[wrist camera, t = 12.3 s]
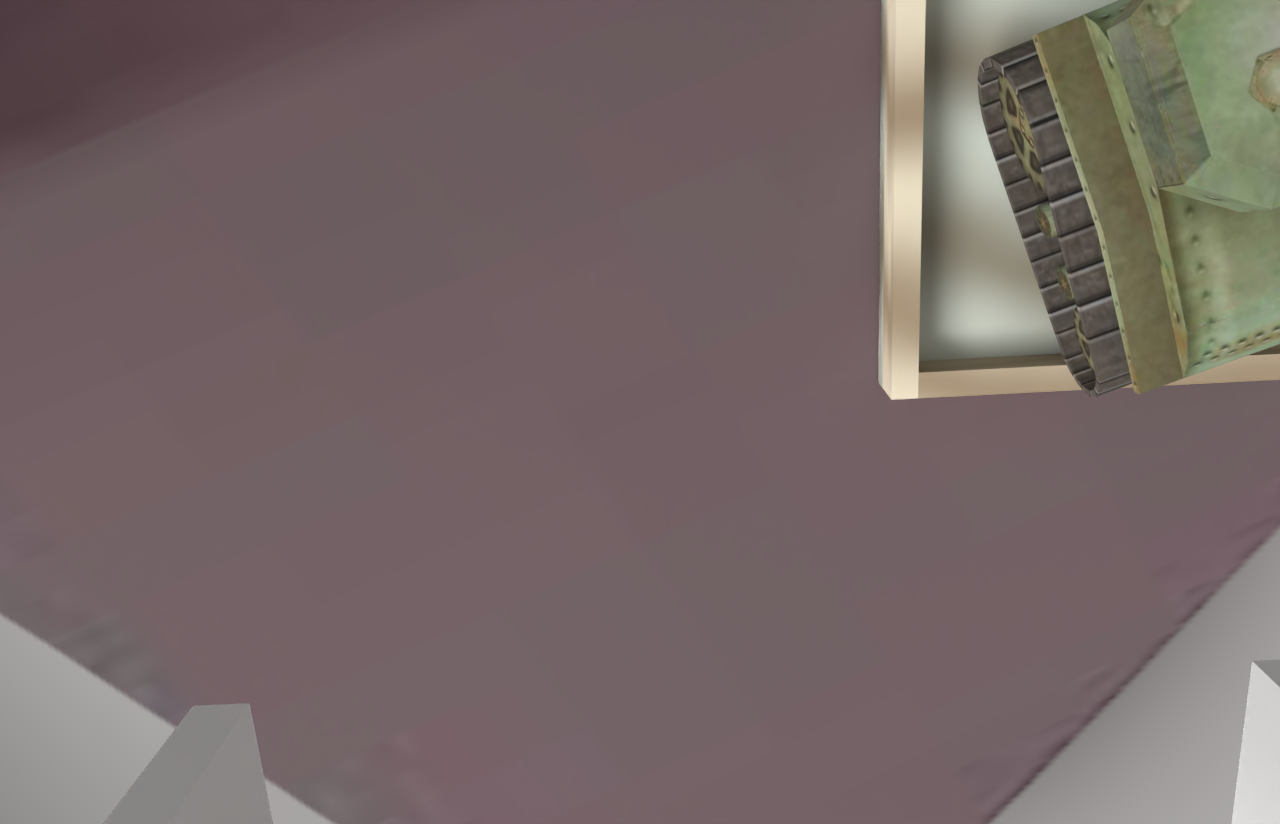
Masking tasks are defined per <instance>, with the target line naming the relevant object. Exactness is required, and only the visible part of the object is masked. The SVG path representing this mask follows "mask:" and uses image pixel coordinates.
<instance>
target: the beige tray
mask: <svg viewBox="0 0 1280 824" xmlns="http://www.w3.org/2000/svg"><path fill="white" fill-rule="evenodd" d="M1116 1H1118V0H881V107H880V238H879V369H878V382H879V384H880V385H881V386H882V388H883V389H884V390H885V392H886V393H887V394H888V396H889V397H890V398H891V400H893V399H913V398H932V397H951V396H971V395H990V394H1010V393H1029V392H1048V391H1068V390H1082V389H1081V387H1080V386H1079V385H1078V384H1077V382H1076V381H1075V379H1074V377H1073V376H1072V374H1071V373H1070V371H1069V369H1068V367H1067V365H1066V363H1065V361H1064V359H1063V356H1062V353H1061V350H1060V347H1059V345H1058V342H1057V339H1056V336H1055V333H1054V330H1053V327H1052V324H1051V321H1050V318H1049V315H1048V312H1047V309H1046V307H1045V304H1044V301H1043V298H1042V295H1041V292H1040V289H1039V286H1038V283H1037V280H1036V277H1035V274H1034V272H1033V269H1032V266H1031V263H1030V260H1029V257H1028V254H1027V251H1026V248H1025V245H1024V242H1023V239H1022V236H1021V234H1020V231H1019V228H1018V225H1017V222H1016V219H1015V216H1014V213H1013V210H1012V207H1011V204H1010V201H1009V199H1008V196H1007V193H1006V190H1005V187H1004V184H1003V181H1002V178H1001V175H1000V172H999V169H998V166H997V163H996V161H995V158H994V155H993V152H992V149H991V146H990V143H989V140H988V136H987V133H986V130H985V126H984V123H983V119H982V114H981V108H980V103H979V96H978V83H977V80H978V72H979V66H980V65H981V63H982V61H983V59H985V58H987V57H990V56H992V55H995V54H997V53H1000V52H1002V51H1005V50H1007V49H1010V48H1012V47H1014V46H1017V45H1019V44H1022V43H1024V42H1027V41H1029V40H1032V39H1033V38H1032V37H1033V36H1034V35H1036V34H1037V33H1040V32H1042V31H1045V30H1047V29H1050V28H1052V27H1054V26H1057V25H1059V24H1062V23H1064V22H1067V21H1069V20H1072V19H1074V18H1077V17H1079V16H1082V15H1084V14H1086V13H1089V12H1091V11H1094V10H1096V9H1099V8H1101V7H1104V6H1106V5H1109V4H1111V3H1113V2H1116ZM1262 380H1280V344H1278V345H1275V346H1273V347H1270V348H1267V349H1264V350H1261V351H1259V352H1256V353H1253V354H1250V355H1247V356H1245V357H1242V358H1239V359H1236V360H1233V361H1231V362H1228V363H1225V364H1222V365H1220V366H1217V367H1214V368H1211V369H1208V370H1206V371H1203V372H1200V373H1197V374H1194V375H1192V376H1189V377H1186V378H1183V379H1180V380H1178V381H1175V382H1172V383H1169V384H1166V385H1184V384H1204V383H1223V382H1243V381H1262ZM1164 386H1165V385H1164ZM1126 387H1133V384H1130V385H1127V386H1125V387H1122V388H1126Z"/></svg>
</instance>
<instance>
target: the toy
mask: <svg viewBox="0 0 1280 824" xmlns="http://www.w3.org/2000/svg"><path fill="white" fill-rule="evenodd" d="M1032 38H1033V39H1032V40H1029V41H1027V42H1024V43H1022V44H1019V45H1017V46H1014V47H1012V48H1010V49H1007V50H1005V51H1002V52H1000V53H997V54H995V55H992V56H990V57H987V58H985V59H983V61H982V63H981V65H980V66H979V72H978V80H977V83H978V96H979V103H980V108H981V114H982V119H983V123H984V126H985V130H986V133H987V136H988V140H989V143H990V146H991V149H992V152H993V155H994V158H995V161H996V163H997V166H998V169H999V172H1000V175H1001V178H1002V181H1003V184H1004V187H1005V190H1006V193H1007V196H1008V199H1009V201H1010V204H1011V207H1012V210H1013V213H1014V216H1015V219H1016V222H1017V225H1018V228H1019V231H1020V234H1021V236H1022V239H1023V242H1024V245H1025V248H1026V251H1027V254H1028V257H1029V260H1030V263H1031V266H1032V269H1033V272H1034V274H1035V277H1036V280H1037V283H1038V286H1039V289H1040V292H1041V295H1042V298H1043V301H1044V304H1045V307H1046V309H1047V312H1048V315H1049V318H1050V321H1051V324H1052V327H1053V330H1054V333H1055V336H1056V339H1057V342H1058V345H1059V347H1060V350H1061V353H1062V356H1063V359H1064V361H1065V363H1066V365H1067V367H1068V369H1069V371H1070V373H1071V374H1072V376H1073V377H1074V379H1075V381H1076V382H1077V384H1078V385H1079V386H1080V387H1081V389H1082V390H1083V391H1084V392H1085V393H1086V394H1088V395H1089V396H1091V397H1097V396H1100V395H1102V394H1105V393H1108V392H1111V391H1113V390H1116V389H1119V388H1122V387H1125V386H1127V385H1130V384H1133V388H1134V392H1136V393H1139V394H1141V393H1144V392H1147V391H1150V390H1152V389H1155V388H1158V387H1161V386H1164V385H1166V384H1169V383H1172V382H1175V381H1178V380H1180V379H1183V378H1186V377H1189V376H1192V375H1194V374H1197V373H1200V372H1203V371H1206V370H1208V369H1211V368H1214V367H1217V366H1220V365H1222V364H1225V363H1228V362H1231V361H1233V360H1236V359H1239V358H1242V357H1245V356H1247V355H1250V354H1253V353H1256V352H1259V351H1261V350H1264V349H1267V348H1270V347H1273V346H1275V345H1278V344H1280V0H1118V1H1116V2H1113V3H1111V4H1109V5H1106V6H1104V7H1101V8H1099V9H1096V10H1094V11H1091V12H1089V13H1086V14H1084V15H1082V16H1079V17H1077V18H1074V19H1072V20H1069V21H1067V22H1064V23H1062V24H1059V25H1057V26H1054V27H1052V28H1050V29H1047V30H1045V31H1042V32H1040V33H1037V34H1036V35H1034V36H1033V37H1032Z"/></svg>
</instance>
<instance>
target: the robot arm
mask: <svg viewBox="0 0 1280 824" xmlns="http://www.w3.org/2000/svg"><path fill="white" fill-rule="evenodd" d="M103 824H273V822H272V817H271V811H270V806H269V801H268V796H267V791H266V786H265V781H264V775H263V770H262V765H261V760H260V755H259V750H258V745H257V740H256V734H255V729H254V724H253V719H252V714H251V709H250V704H226V705H202V706H193V707H192V708H191V709H190V711H189V712H188V713H187V714H186V716H185V717H184V718H183V720H182V721H181V722H180V724H179V725H178V726H177V728H176V729H175V730H174V731H173V733H172V734H171V736H170V737H169V738H168V739H167V741H166V742H165V743H164V745H163V746H162V747H161V749H160V750H159V751H158V752H157V754H156V755H155V756H154V758H153V759H152V761H151V762H150V763H149V764H148V766H147V767H146V768H145V770H144V771H143V772H142V773H141V775H140V776H139V777H138V779H137V780H136V781H135V783H134V784H133V785H132V786H131V788H130V789H129V790H128V792H127V793H126V794H125V796H124V797H123V798H122V800H121V801H120V802H119V803H118V805H117V806H116V807H115V809H114V810H113V811H112V813H111V814H110V815H109V817H108V818H107V820H105V822H104V823H103ZM1232 824H1280V660H1265V661H1252V667H1251V675H1250V683H1249V691H1248V698H1247V706H1246V715H1245V722H1244V730H1243V738H1242V746H1241V754H1240V761H1239V770H1238V777H1237V785H1236V793H1235V801H1234V809H1233V818H1232Z"/></svg>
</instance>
